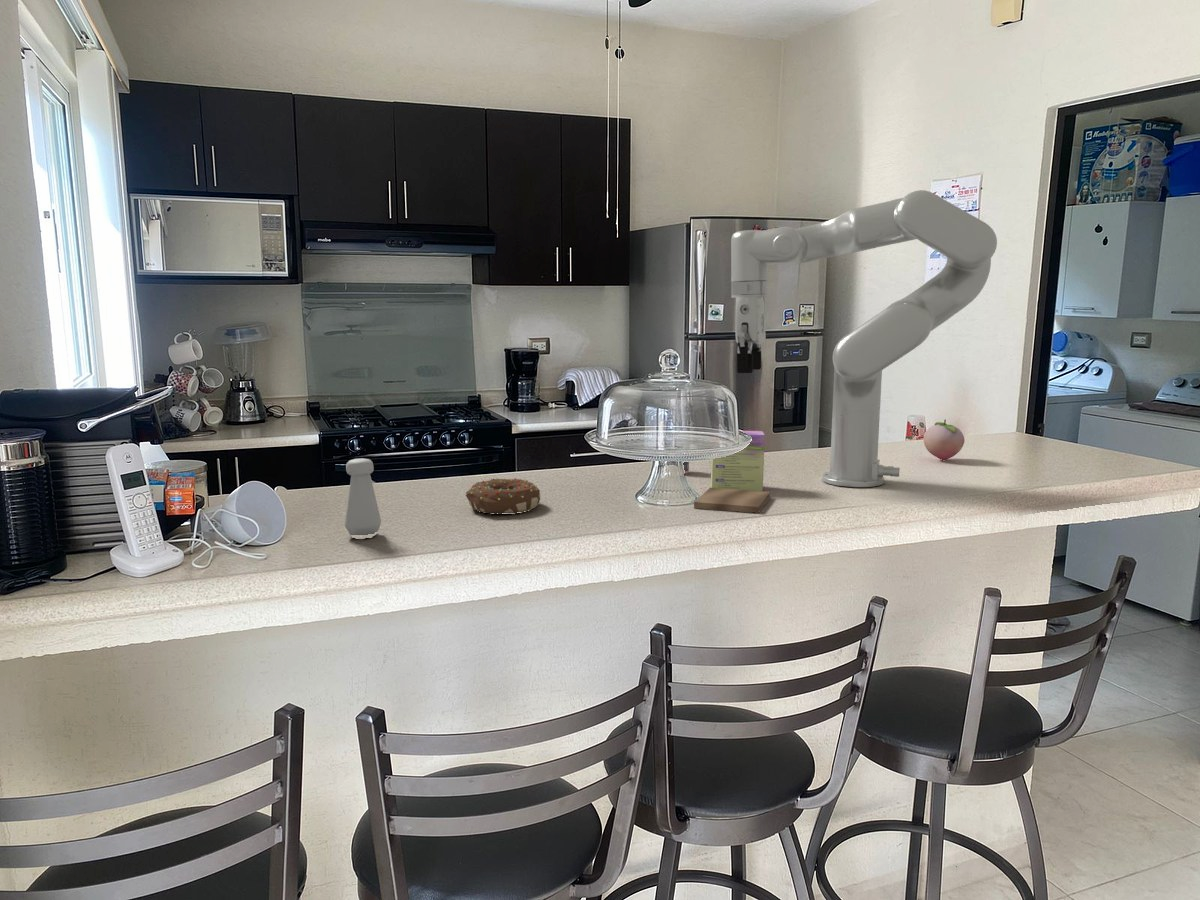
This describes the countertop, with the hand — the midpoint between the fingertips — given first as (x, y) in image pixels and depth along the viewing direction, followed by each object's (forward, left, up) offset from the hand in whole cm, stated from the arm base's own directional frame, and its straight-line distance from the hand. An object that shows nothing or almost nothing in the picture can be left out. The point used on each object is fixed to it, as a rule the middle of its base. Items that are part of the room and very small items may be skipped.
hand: (749, 371), depth 183 cm
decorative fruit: (-40, -32, -23) cm, 56 cm away
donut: (+37, +44, -24) cm, 62 cm away
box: (0, +13, -23) cm, 27 cm away
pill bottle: (+16, +1, -23) cm, 28 cm away
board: (-2, +26, -23) cm, 35 cm away
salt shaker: (+51, +69, -23) cm, 89 cm away
